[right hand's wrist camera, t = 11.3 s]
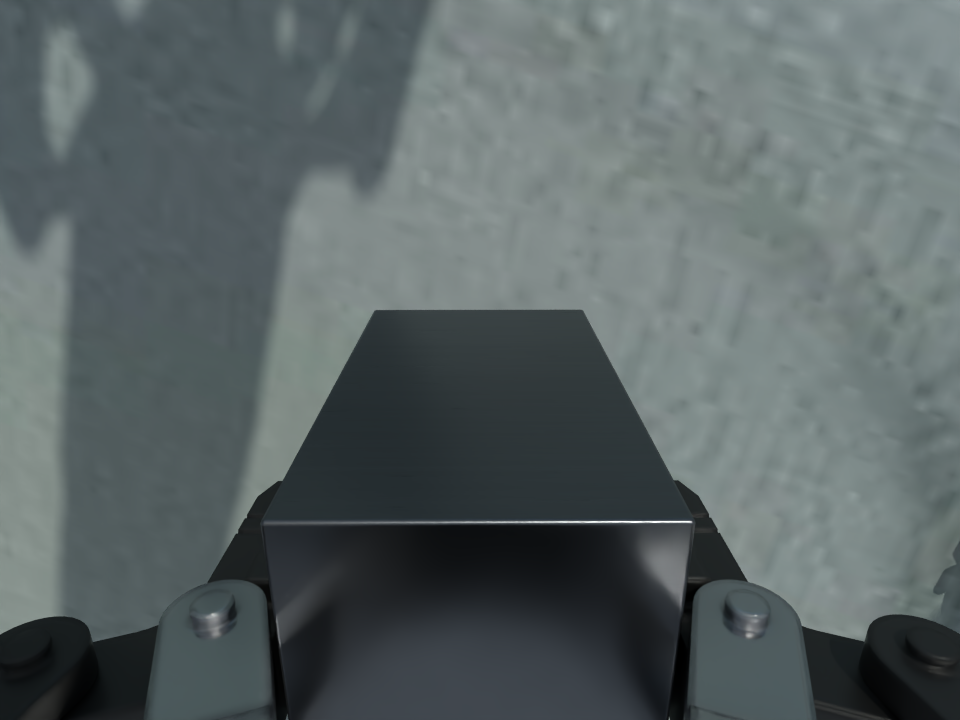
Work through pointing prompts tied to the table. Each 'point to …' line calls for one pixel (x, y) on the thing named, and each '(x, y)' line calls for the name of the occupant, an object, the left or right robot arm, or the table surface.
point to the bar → (478, 531)
